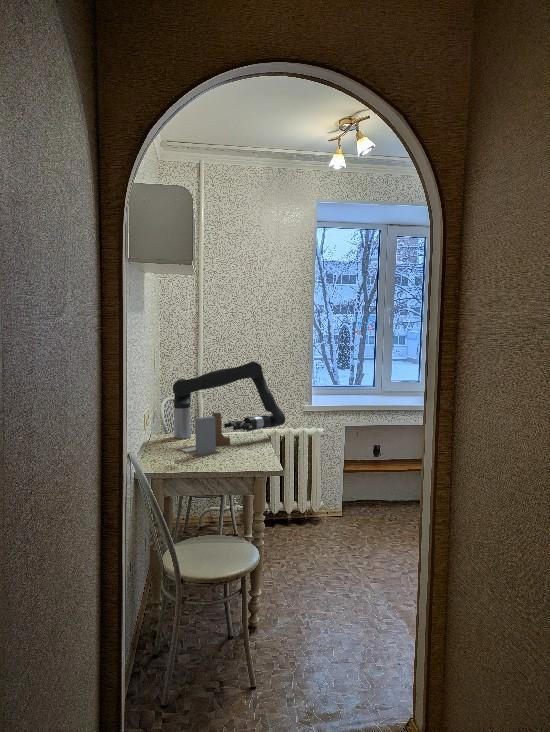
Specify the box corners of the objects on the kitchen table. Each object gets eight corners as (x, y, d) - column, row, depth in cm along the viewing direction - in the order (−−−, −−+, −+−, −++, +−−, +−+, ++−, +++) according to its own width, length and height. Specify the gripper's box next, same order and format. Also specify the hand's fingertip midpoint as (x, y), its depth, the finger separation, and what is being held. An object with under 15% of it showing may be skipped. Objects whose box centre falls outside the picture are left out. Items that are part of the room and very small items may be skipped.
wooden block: (229, 445, 308) (229, 412, 306) (230, 447, 303) (229, 413, 302) (212, 446, 306) (212, 412, 305) (213, 448, 302) (212, 414, 300)
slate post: (195, 454, 283) (195, 418, 282) (211, 451, 289) (210, 415, 287) (200, 455, 280) (199, 419, 279) (215, 452, 286) (215, 417, 284)
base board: (175, 451, 294) (175, 448, 294) (199, 447, 303) (199, 444, 303) (197, 459, 277) (197, 456, 277) (222, 455, 286) (222, 452, 286)
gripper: (245, 414, 322) (221, 418, 312) (261, 418, 311) (236, 421, 301) (246, 428, 323) (221, 431, 313) (261, 432, 312) (236, 436, 302)
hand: (229, 426), depth 307 cm, fingers open, 8 cm apart
